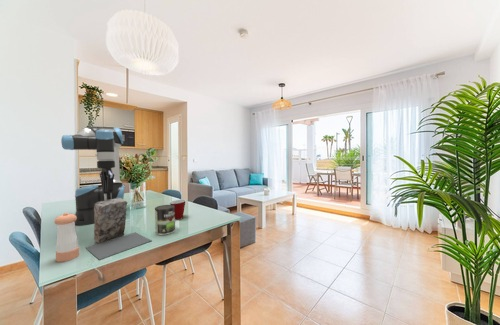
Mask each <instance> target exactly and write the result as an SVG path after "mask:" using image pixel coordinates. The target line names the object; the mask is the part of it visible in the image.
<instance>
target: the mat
mask: <svg viewBox="0 0 500 325" xmlns="http://www.w3.org/2000/svg"><path fill="white" fill-rule="evenodd" d="M150 242H152V239H150V238H148V237H146V236H144V235H142V234H140V233H137V232H131V233H129V234H125V235H121V236H118V237H116V238H113V239H111V240H108V241H105V242H102V243H95V244H93V245H89V246H86V247H85V249H86V251H87V252H89V253H90V254H91V255H92V256H94V257H95V258H96V259H97V260H98V261H101V260H105V259H106V258H110V257H113V256H115V255H117V254H120V253H123V252H127V251H128V250H133V249H135V248H137V247H140V246H142V245H145V244H147V243H150Z"/></svg>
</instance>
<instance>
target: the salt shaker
mask: <svg viewBox="0 0 500 325" xmlns="http://www.w3.org/2000/svg"><path fill="white" fill-rule="evenodd" d="M76 219H77V217H76V215H75V214H73V213H68V212H64V213H63V214H61V215H59V216H57V217H56V218H55V219H54V225H57V227H56V229H57V235H56V236H57V237H56V243H55V245H56V251H55V261H56V262H57V263H63V262H68V261H70V260H74V259H76V258H77V257H79V256H80V249H79V248H80V247H79V245H78V236H77V233H76V232H77V231H76V225H75V222H74V221H76Z"/></svg>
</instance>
